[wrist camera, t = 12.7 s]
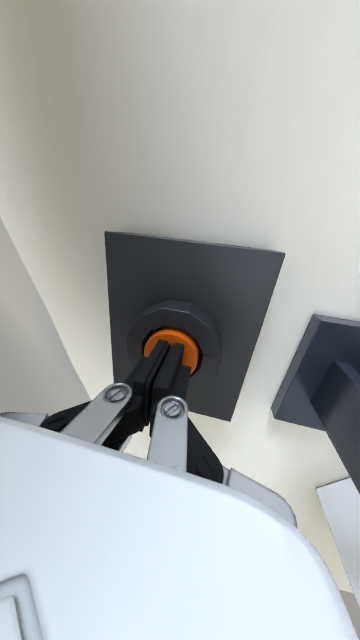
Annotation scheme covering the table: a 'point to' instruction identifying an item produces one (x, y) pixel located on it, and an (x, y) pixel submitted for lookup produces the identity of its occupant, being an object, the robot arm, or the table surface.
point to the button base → (190, 307)
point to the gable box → (344, 525)
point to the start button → (174, 337)
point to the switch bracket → (326, 387)
